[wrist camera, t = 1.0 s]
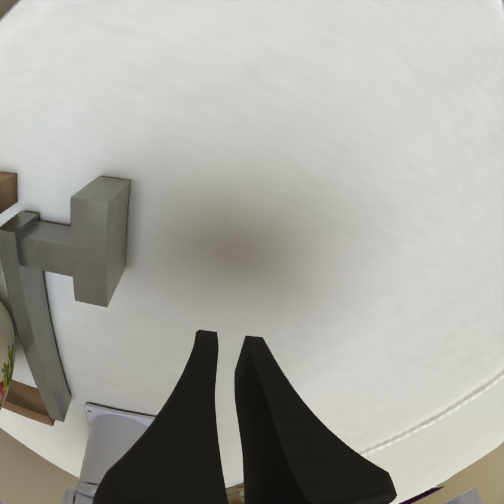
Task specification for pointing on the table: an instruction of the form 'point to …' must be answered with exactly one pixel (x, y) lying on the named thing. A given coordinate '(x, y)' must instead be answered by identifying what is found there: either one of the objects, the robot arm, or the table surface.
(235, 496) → the coffee box
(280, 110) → the table surface
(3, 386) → the pitcher
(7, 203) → the walnut holder
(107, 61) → the table surface
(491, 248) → the table surface
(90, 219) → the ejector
